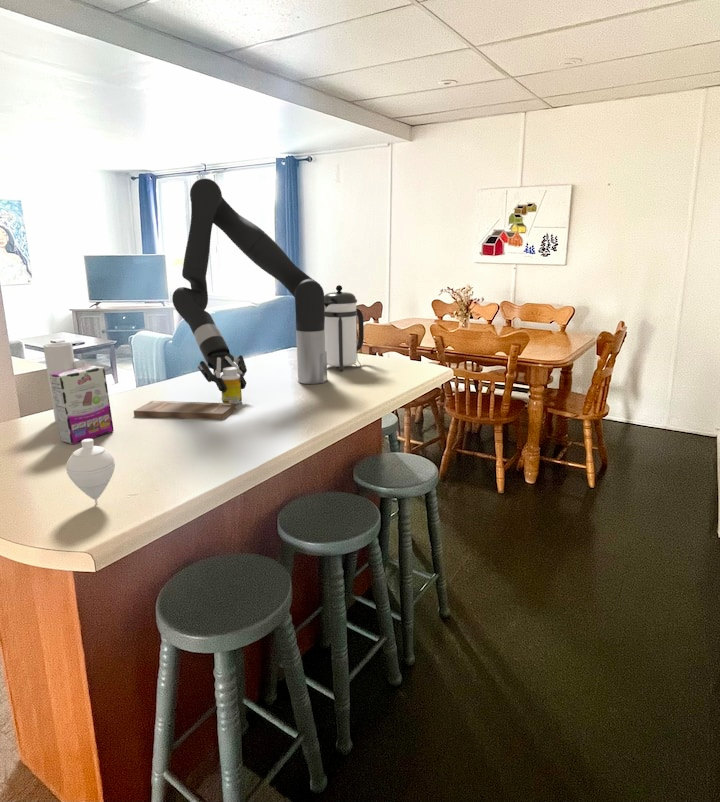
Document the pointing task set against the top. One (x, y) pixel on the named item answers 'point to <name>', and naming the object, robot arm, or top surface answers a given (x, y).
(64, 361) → the vase
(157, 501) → the top surface
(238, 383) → the supplement bottle
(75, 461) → the spinning top
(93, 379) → the candy bar box
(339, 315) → the coffee press
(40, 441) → the top surface
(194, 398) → the top surface
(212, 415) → the walnut board
